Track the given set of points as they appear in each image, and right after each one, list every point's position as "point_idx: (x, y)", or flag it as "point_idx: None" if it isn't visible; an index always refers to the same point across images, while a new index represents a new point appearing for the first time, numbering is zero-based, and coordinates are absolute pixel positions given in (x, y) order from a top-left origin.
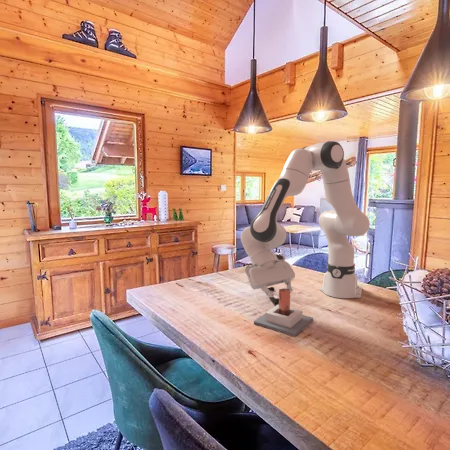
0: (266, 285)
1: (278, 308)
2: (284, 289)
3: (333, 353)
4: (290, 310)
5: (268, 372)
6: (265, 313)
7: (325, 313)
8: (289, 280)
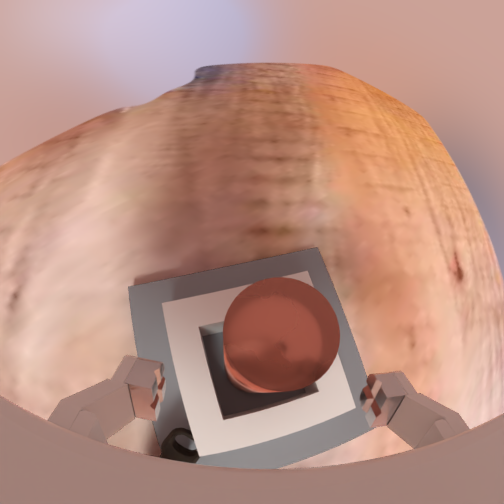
0: (444, 432)
1: (248, 413)
2: (262, 354)
3: (290, 149)
4: (205, 355)
5: (448, 202)
6: (353, 406)
7: (45, 292)
8: (62, 415)
